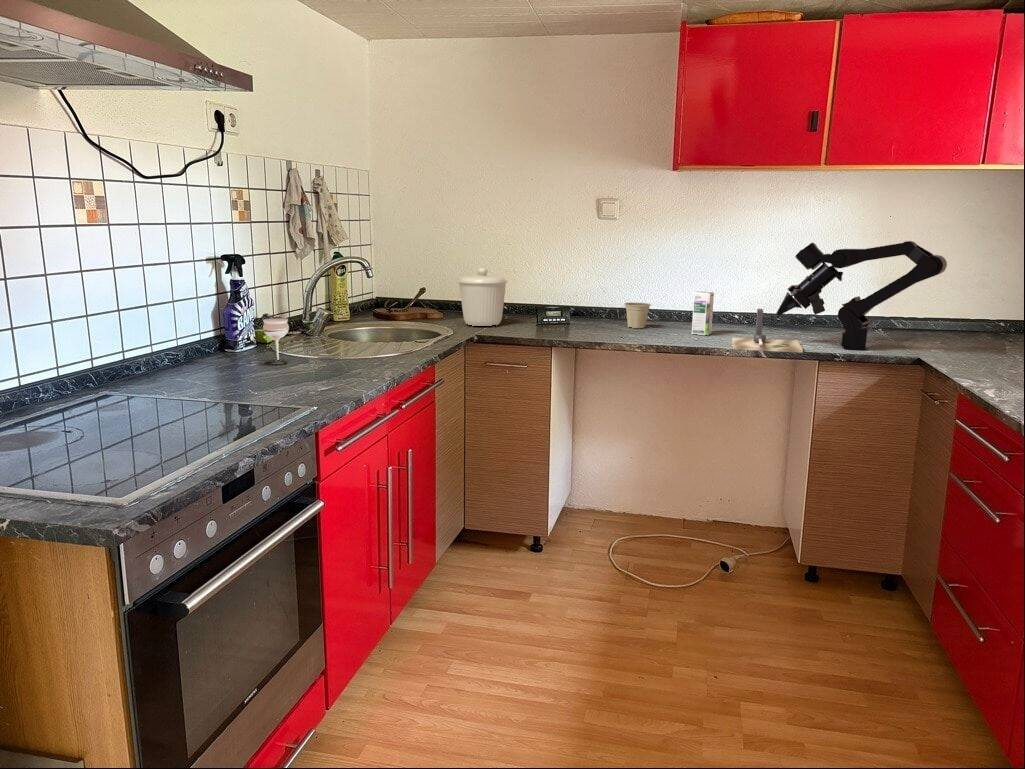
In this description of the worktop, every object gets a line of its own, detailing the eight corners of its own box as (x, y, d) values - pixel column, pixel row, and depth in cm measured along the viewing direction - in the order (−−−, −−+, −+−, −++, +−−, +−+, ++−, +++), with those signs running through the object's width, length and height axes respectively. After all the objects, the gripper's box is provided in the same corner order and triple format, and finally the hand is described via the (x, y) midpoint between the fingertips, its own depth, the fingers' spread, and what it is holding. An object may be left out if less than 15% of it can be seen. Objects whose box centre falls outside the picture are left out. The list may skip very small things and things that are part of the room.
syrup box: (690, 334, 263) (693, 292, 259) (695, 332, 268) (697, 290, 265) (707, 336, 260) (710, 293, 257) (711, 333, 265) (714, 291, 262)
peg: (763, 336, 251) (765, 308, 249) (767, 346, 231) (769, 317, 230) (752, 336, 252) (754, 308, 250) (754, 346, 232) (756, 316, 230)
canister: (515, 323, 287) (515, 266, 282) (494, 330, 271) (494, 269, 266) (472, 320, 294) (471, 265, 289) (449, 327, 278) (448, 268, 273)
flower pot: (650, 326, 282) (651, 302, 280) (649, 330, 273) (650, 305, 271) (624, 325, 284) (625, 302, 282) (622, 329, 275) (623, 305, 273)
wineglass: (285, 366, 207) (282, 321, 204) (261, 365, 208) (257, 321, 205) (295, 361, 214) (292, 318, 211) (271, 360, 214) (268, 317, 212)
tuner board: (797, 343, 246) (797, 339, 246) (802, 352, 230) (802, 348, 230) (732, 340, 251) (732, 336, 251) (733, 349, 235) (733, 345, 235)
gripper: (839, 302, 231) (797, 337, 236) (831, 296, 248) (792, 328, 254) (813, 275, 231) (772, 311, 236) (807, 271, 249) (769, 304, 254)
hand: (777, 314), depth 245 cm, fingers closed
